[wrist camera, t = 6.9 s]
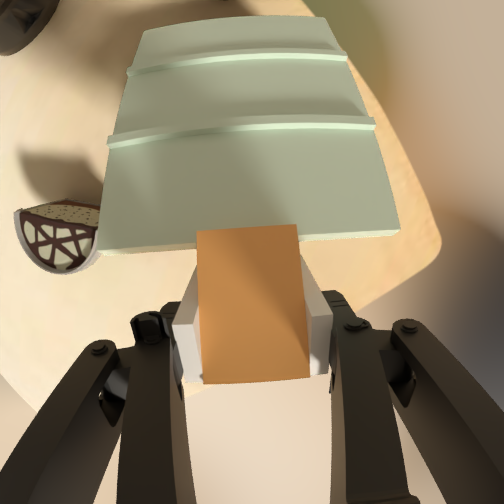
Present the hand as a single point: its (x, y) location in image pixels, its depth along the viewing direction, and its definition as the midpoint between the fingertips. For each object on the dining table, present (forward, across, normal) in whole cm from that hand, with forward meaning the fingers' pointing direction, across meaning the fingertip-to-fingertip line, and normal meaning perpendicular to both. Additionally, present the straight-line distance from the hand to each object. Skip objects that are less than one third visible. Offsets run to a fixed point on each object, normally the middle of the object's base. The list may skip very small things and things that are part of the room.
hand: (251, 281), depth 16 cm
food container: (+19, -20, 0) cm, 28 cm away
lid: (+3, 0, +8) cm, 8 cm away
